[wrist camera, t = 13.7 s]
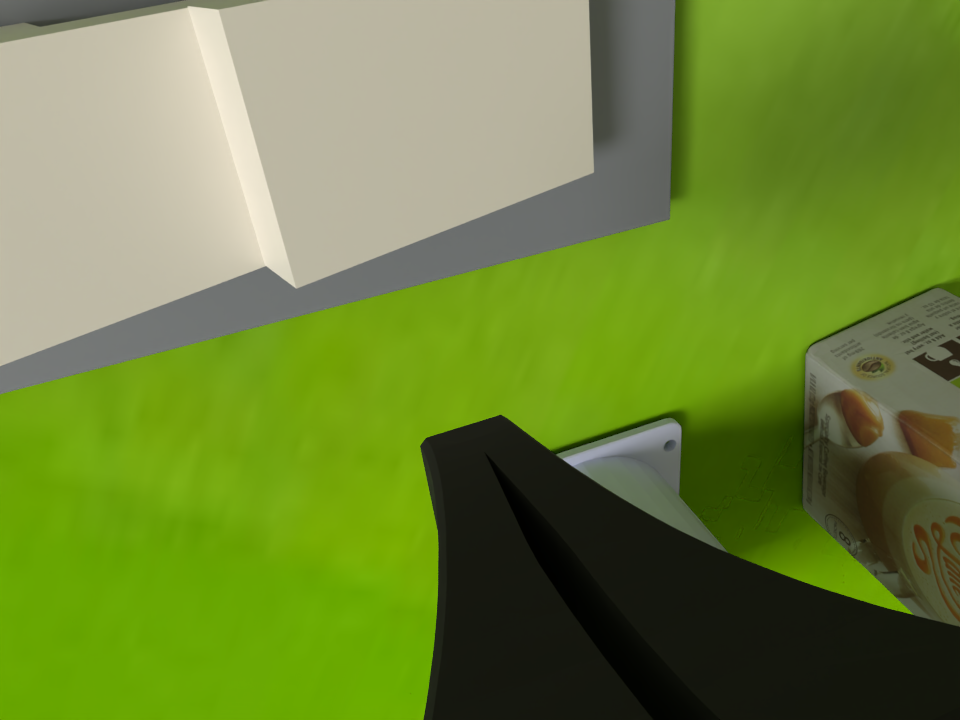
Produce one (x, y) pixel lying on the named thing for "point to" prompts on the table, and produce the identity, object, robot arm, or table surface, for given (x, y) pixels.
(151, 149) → the domino
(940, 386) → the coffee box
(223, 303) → the slate board
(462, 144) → the domino
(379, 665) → the table surface
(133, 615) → the table surface
